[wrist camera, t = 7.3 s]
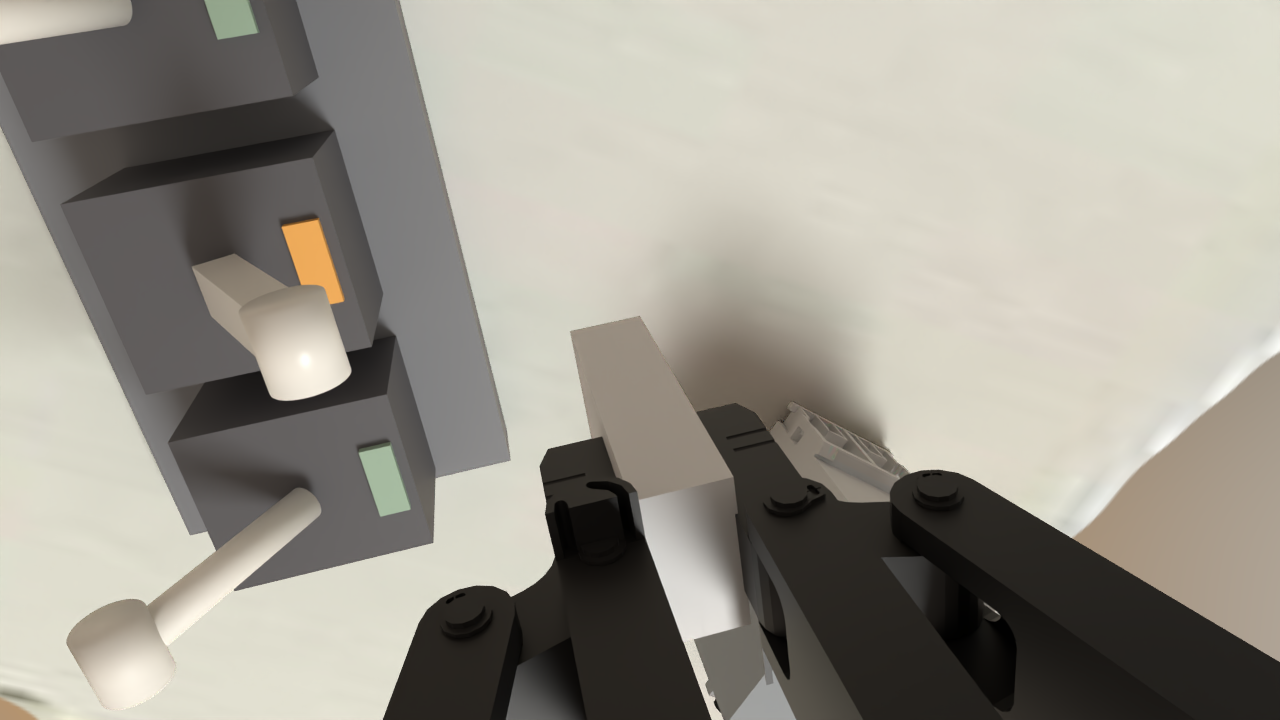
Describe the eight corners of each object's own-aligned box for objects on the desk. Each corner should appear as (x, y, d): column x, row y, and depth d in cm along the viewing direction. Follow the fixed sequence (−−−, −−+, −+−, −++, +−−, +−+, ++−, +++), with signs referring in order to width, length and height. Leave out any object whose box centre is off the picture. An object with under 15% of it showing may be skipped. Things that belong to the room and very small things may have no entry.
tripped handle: (243, 241, 29) (336, 294, 22) (266, 306, 30) (363, 376, 23) (175, 261, 28) (252, 324, 21) (202, 328, 29) (283, 409, 22)
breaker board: (362, -149, 33) (283, -264, 17) (507, 431, 44) (537, 672, 29) (-54, -88, 31) (-549, -157, 16) (206, 500, 42) (66, 797, 27)
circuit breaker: (655, 596, 50) (729, 821, 37) (791, 400, 47) (928, 570, 33) (754, 634, 53) (858, 856, 40) (890, 452, 49) (1054, 628, 36)
